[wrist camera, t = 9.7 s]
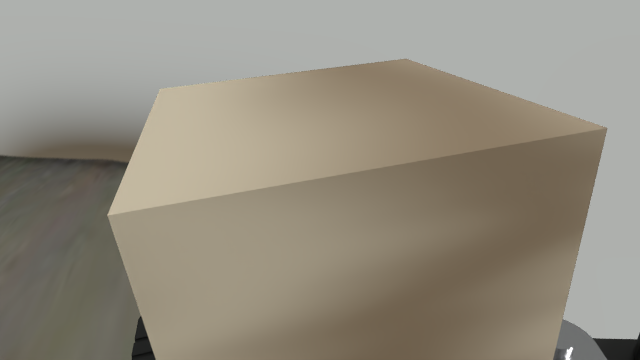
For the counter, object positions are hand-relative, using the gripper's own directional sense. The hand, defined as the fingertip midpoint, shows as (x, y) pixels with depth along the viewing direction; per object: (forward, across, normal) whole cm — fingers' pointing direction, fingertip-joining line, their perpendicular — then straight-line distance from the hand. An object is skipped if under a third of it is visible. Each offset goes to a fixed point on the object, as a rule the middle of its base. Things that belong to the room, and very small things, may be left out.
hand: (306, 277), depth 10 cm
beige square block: (-3, 0, +7) cm, 7 cm away
